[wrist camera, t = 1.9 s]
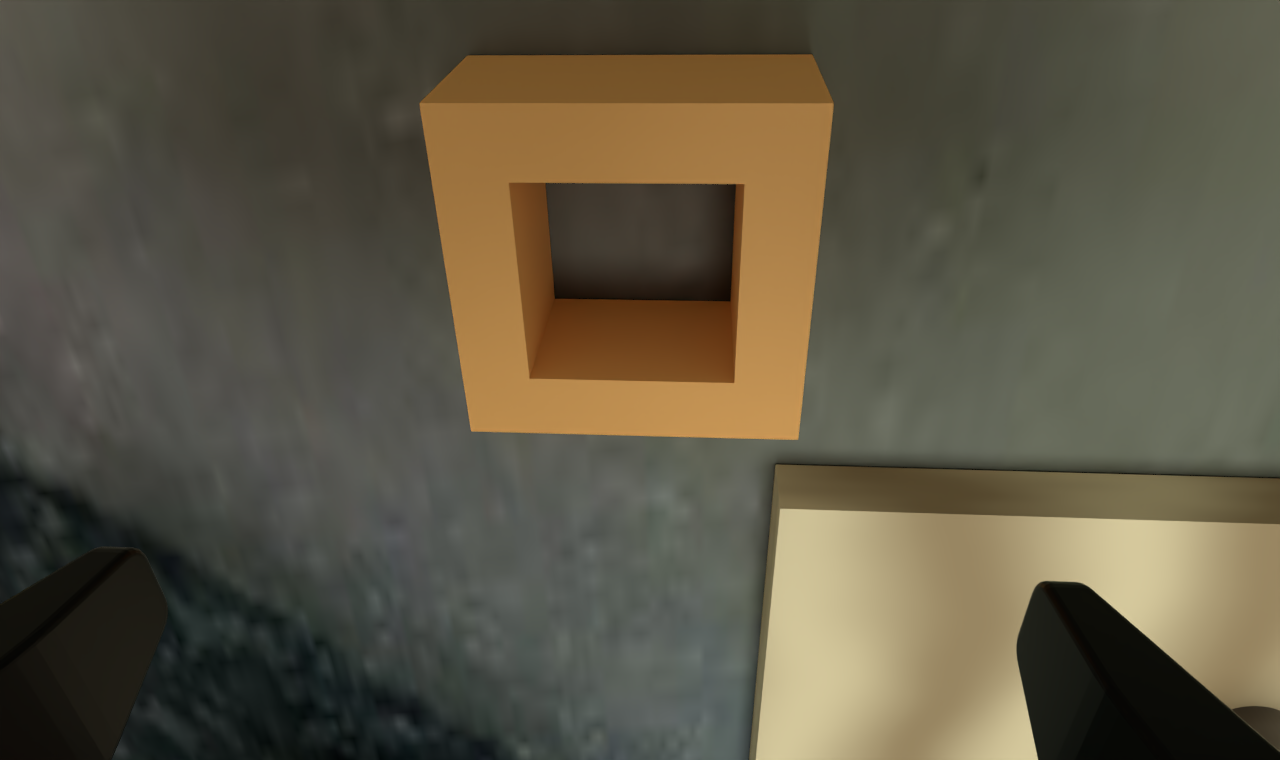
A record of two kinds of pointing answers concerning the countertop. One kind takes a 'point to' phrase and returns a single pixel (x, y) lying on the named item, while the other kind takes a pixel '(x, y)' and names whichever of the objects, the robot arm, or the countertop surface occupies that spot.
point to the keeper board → (995, 599)
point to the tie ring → (629, 153)
